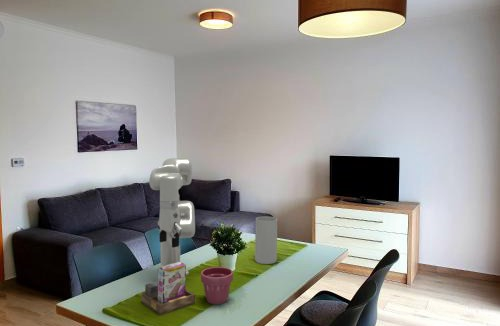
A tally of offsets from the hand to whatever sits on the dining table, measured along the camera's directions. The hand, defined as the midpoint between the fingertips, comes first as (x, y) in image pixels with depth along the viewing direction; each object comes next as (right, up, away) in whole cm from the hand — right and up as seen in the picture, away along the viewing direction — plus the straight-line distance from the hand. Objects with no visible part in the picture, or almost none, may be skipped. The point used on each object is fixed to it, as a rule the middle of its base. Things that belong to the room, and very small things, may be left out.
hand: (169, 244), depth 167 cm
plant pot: (+20, -26, +7) cm, 34 cm away
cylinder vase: (+44, -23, +61) cm, 78 cm away
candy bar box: (+1, -26, +1) cm, 26 cm away
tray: (-1, -26, +3) cm, 26 cm away
